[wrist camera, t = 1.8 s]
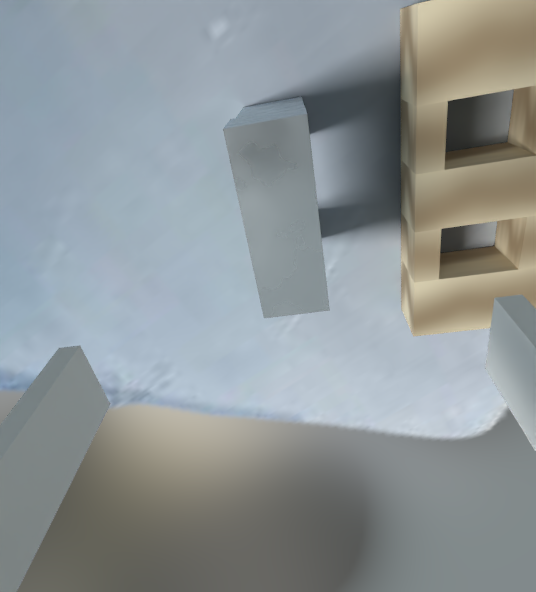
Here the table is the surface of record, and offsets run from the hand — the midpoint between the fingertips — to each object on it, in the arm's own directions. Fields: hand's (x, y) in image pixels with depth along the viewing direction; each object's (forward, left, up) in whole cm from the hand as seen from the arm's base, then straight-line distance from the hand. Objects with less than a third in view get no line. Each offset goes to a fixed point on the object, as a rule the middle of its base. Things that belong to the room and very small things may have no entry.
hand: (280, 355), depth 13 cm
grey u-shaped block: (0, 0, -20) cm, 20 cm away
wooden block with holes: (+2, +13, -20) cm, 24 cm away
